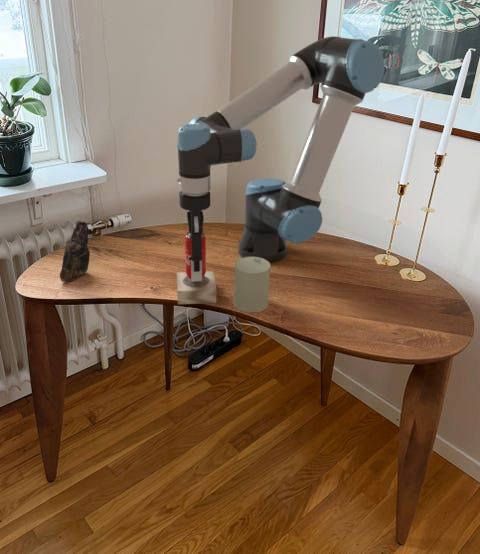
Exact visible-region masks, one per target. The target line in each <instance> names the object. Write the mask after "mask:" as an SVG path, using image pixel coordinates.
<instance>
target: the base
mask: <svg viewBox="0 0 480 554" xmlns="http://www.w3.org/2000/svg"><path fill="white" fill-rule="evenodd" d="M176 290H177V305H193V304H194V305H195V304H197V305H198V304H216V303H217V285H216V279H215V273H214V271H208V270H206V273H205V275H204V278H202V281H193V282H192V281H191V279H189V278H188V276H187V274H186V271H182V272H180V271H179V272H178V271H177V272H176Z"/></svg>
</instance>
